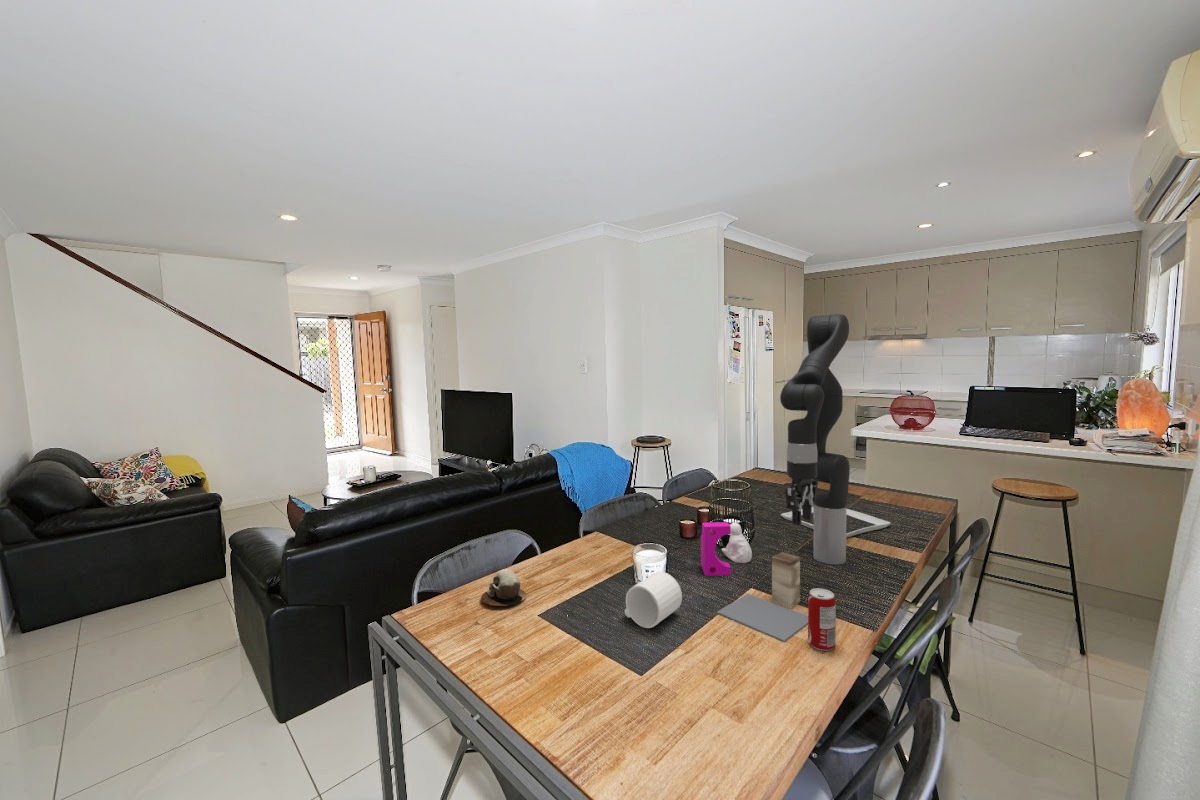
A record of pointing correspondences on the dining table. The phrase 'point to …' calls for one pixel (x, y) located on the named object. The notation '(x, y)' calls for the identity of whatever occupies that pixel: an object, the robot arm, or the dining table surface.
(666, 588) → the mug
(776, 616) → the mat
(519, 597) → the skull
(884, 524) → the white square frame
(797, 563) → the birch block
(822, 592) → the soda can
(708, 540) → the toy block
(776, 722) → the dining table surface
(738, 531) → the pale pink lumpy piece
